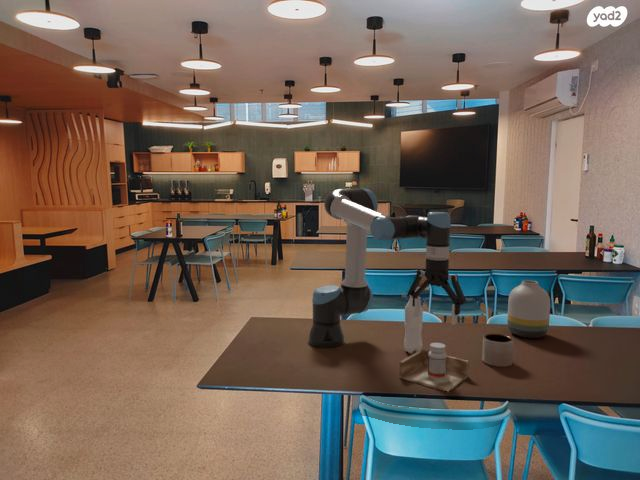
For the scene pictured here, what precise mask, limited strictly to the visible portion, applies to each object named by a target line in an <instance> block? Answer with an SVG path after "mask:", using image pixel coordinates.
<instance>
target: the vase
mask: <svg viewBox="0 0 640 480" xmlns="http://www.w3.org/2000/svg"><path fill="white" fill-rule="evenodd" d="M507 302H508V303H507V327H508V330H509V331H510V333H512V334H513V335H516V336H519V337H522V338H527V339H528V338H529V339H538V338H542V337H544V336H546V334H547V333H548V331H549V329H550V316H551V315H550V314H551V297H550V295H549V293H548V292H547V291H546V290H545V289H544V288H542V287H541V286H540V285H539V282H538V281H536V280H529V279H525V280H522V281H521V283H520V284H519V285H517V286H515V287H514V288H512V290H511V291H510V293H509V295H508V301H507Z"/></svg>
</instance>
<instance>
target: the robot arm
mask: <svg viewBox="0 0 640 480" xmlns="http://www.w3.org/2000/svg"><path fill="white" fill-rule="evenodd" d="M323 203H324V204H323V205H324V206H323V207H324V210H325V212H326V214H327V215H328V216H330V217H332V218H333V219H336V220H343V221H344V222H345V224H346V239H345V240H346V241H345V242H346V243H345V244H346V245H345V263H344V264H345V267H344V269H345V270H344V279H343V280H342V281H341V282H340V283H341V284H340V286H338V285H334V284H332V285H324V286H322V285H321V286H319V287H317V288H315V289H314V290H313V292H312V300H311V302H312V325H311V329H310V332H309V335H308V343H309V344H310V345H312V346H314V347H318V348H337V347H340V346H342V345H343V344H344V343H345V335H344V333H343V329H342V325H341V316H349V315H354V314H361V313H364V312H367V311H369V310H370V308H371V307H372V306H373V301H374V294H373V292H372V291H373V290H372V288H371V287H370V286H369V283H368V281H367V280H366V262H367V260H366V259H367V258H366V257H367V243H368V242H367V239H368V237H367V236H368V232H369V233H370V234H371V236H372V237H373V239H374V240H376V241H390V240H403V239H405V240H407V239H418V238H419V239H425V240H426V244H425V245H426V248H425V249H426V250H425V251H426V253H425V256H426V258H425V271H424V270H423V269H420V270H416V276H415V278H414V280H413V282H412V283H411V286H410V287H409V290H408V291H407V295H408V296H409V297H410V296H412V297H413V307H415V312H414V317H418V316H420V304H421V300H422V299H421V297H420V295H421V294H422V293H423V292H424V291H425V290H426V289H427V288H428V287H429V286H433V287H434V286H435V287H441V288H442V289H443V290H444V291H445V293H446V294H447V295H448V297H449V298H450V300H451V301H452V303H453V304H452V305H451V322H450V323H451V325H452V326H455V325H457V324H458V315H460V314H461V306H463V305H464V304H466V303H467V299H466V297H465V294H464V291H463V290H462V287H461V285H460V283H459V276H458V274H456V273H455V274H449V268H450V267H449V266H450V260H449V258H450V244H451V242H450V239H451V238H450V237H451V227H452V223H451V214H450V213H449V212H446V211H445V212H444V211H429V212H428V213H427V216H420V215H413V214H412V215H407V216H394V217H393V216H389V215H386V214H384V213H381V212H379V211H378V207H379V206H378V204H379V203H378V199H377V196H376V195H375V193H374V192H373V190H370V189H369V188H337V189H334V190H332V191H330V192H329V193H328V194H327V195H326V197H325V198H324V202H323ZM423 277H425V278H426V279H425V280H424V282H423V283H422V284H421V285H420V287H419V284H420V282H421V281H422V279H423ZM448 280H449V281H450V282H451V284H450V283H449V281H448ZM450 285H452V286H450ZM452 287H453V288H452ZM417 288H418V289H417ZM415 290H417V291H416V292H415ZM418 296H419V297H418Z"/></svg>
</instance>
